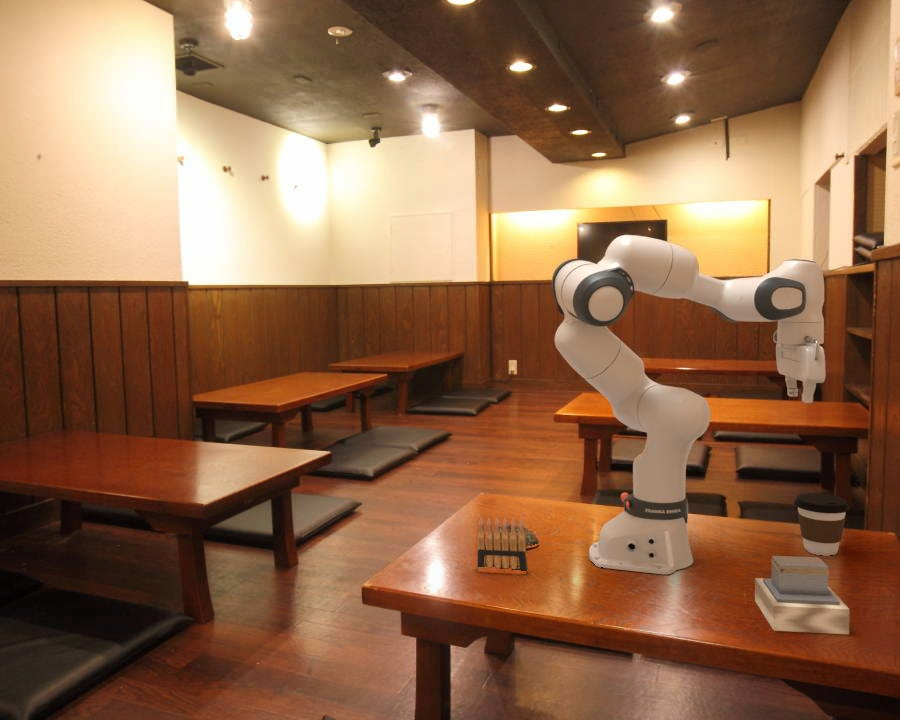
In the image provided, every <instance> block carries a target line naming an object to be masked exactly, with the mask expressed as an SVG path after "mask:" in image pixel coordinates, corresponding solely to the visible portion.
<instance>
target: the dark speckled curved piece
mask: <svg viewBox="0 0 900 720" xmlns="http://www.w3.org/2000/svg"><path fill="white" fill-rule="evenodd" d="M507 525H508V535H509V548H510V535H511V523H507ZM502 527H503V524H502V525H500V535H501V548H502ZM524 528H525V537H526V547H527V546H532V545H535V544H538V543H539V544H540V542H539V539H538V537H537V536H536V534H534V533H533V531H531V530H530V529H528V528H526V527H524ZM516 532H517V539H518V537H519V525H518V524H516ZM492 535H493V546H494V530H492ZM485 538H486V536H485Z"/></svg>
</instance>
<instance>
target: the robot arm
mask: <svg viewBox="0 0 900 720" xmlns="http://www.w3.org/2000/svg"><path fill="white" fill-rule="evenodd" d="M551 277H552V278H551V288H552V293H553V297H554V299H555V303H556V306H557V310H558V312H559V314H561V315H563V316H564V319H563V321H562V322H561V323H560V324H559V326H558V327H557V330H556V332H555V334H554V345H555V348H556V349H557V351H558V352H559V353H560V355H561V356H562V358H563V359H564V361H566V363H568V365H569V366H570V367H571V368H572V369H573V370H574V371H575V372H576V373H577V374H578V375H580V377H582V378H583V379H584V380H585V381H586V382H587V383H588V384H590V385H591V386H592V387H593V388H594V389H595V390H597V392H598V393H600V394H601V395H602V396H603V397H604V398H605V399H606V400H607V402H608V403H609V404H610V405H611V411H612V414H613V416H614V417H615V418H616V420H618V421H619V422H621V423H622V424H623V425H625V426H626V427H629V428H630V429H632V430H636V431H639V432H644V433H646V441H645V442H646V443H645V446H644V448H643V451H642V453H640V454H638V455H637V456H635V458H634V460H633V464H632V484H633V486H632V493H631V494H629V492H622V493H621V494H620V499H621V502H622V503H623V511H621V512H620V513H619V514H618V515H616V516H614V517H613V518H612V519H610V520H608V521H607V522H605V523H604V524H603V526H602V528H601V530H600V531H599V532H600V534H599V537H598V541H596V542H594V543H592V544H591V545H590V547H589V550H588V558H589V560H590V562H591V561H592V562H593V563H594V564H595V565H594V564H593V563H592V562H591V563H592V564H593V565H594V566H596V567H598V568H601V567H603V568H602V569H613V570H620V571H629V572H630V571H631V572H639V573H648V574H655V575H656V574H657V575H666V576H667V575H670V574H672V573H674V572H676V571H678V570H681V569H685V568H688V567H690V566H691V565H692V564H693V563H694V557H693V553H692V551H691V547H690V541H689V535H688V529H687V528H688V526H687V525H688V524H687V523H688V519H689V502H688V497H687V496H686V477H687V476H686V475H687V473H686V472H687V471H686V470H687V464H688V463H687V462H688V458H689V454H690V451H691V449H692V447H693V444H694V443H695V441H696V440H697V439H699V438H700V437H701V436H702V435H704V434H705V432H706V431H707V430H708V428H709V426H710V422H711V417H712V416H711V413H712V412H711V408H710V405H709V403H708V401H707V400H706V398H704V396H701V395H700V394H698V393H695V392H694V391H692V390H689V389H687V388H684V387H677V386H671V385H664V384H661V383H658V382H655V381H653V380H652V379H650V378H649V377H648V376H647V374H646V373H645V364H644V361H643V359H642V358H641V357H640V356H639V355H637V353H635V352H634V351H633V350H632V349H631V348H630V347H628V346H627V344H626V343H624V341H622V340H621V339H620V338H619V337H618V336H617V335H616V334H614V333H613V332H612V331H611V330H610V329H609V328H608V326H611V325H613V324H615V323H616V322H618V321H619V320H620V319H621V318H622V316H623V315H624V314H625V312H626V311H627V308H628V306H629V303H630V301H631V300H632V298H633V297H634V295H635V291H637V292H640V293H644V294H647V295H651V296H653V297H654V296H655V297H658V298H666V299H674V300H675V299H679V300H681V299H684V300H686V301H687V300H688V301H691V302H693V303H697V304H699V305H703V306H706V307H708V308H709V309H711V310H712V311H713V312H714V313H716V314H717V315H718V316H719V317H720V318H721V319H723V320H725V321H726V322H728V323H729V322H730V323H744V322H752V323H753V322H754V323H755V322H758V323H760V322H763V323H766V322H768V323H769V322H771V323H772V322H777V329H776V330H775V332H774V333H773V342H774V343H776V345H775V356H776V357H775V358H776V368H777V372H778V373H779V375H783V376H784V377H785V378H784V379H785V384H786V388H787V390H786V391H787V396H789V397H791V398H794V397H795V398H796V397H798V396H799V388H798V385H797V383H798V382H797V381H801V382H802V387H803V389H802V393H801V402H803V403H805V404H812V403H814V394H815V391H816V388H817V384H823V383H824V382H825V380H826V375H827V374H826V356H825V350H824V347H823V346H821V344H824V343H825V341H824V340H825V339H824V337H825V331H824V330H825V325H824V324H825V319H824V315H823V306H824V303H825V280H824V273H823V270H822V267H821V265H820V264H819V263H817V262H816V261H814V260H813V261H812V260H811V259H810V260H809V259H799V258H798V259H797V258H793V259H787V260H784V261H782V262H781V264H780V265H779V266H777V268H775V269H774V270H772V271H769V272H768V273H765V274H764V275H762V276H753V277H752V276H751V277H730V278H724V279H718V278H715V277H712V276H710V275H706V274H703V273H701V272H700V265H699V261H698V258H697V256H696V254H695V253H694V252H693V251H691V250H689V249H687V248H685V247H683V246H681V245H678V244H675V243H673V242H670V241H666V240H663V239H658V238H653V237H650V236H649V237H648V236H644V235H642V236H641V235H635V234H633V235H632V234H623V235H619V236H617V237H616V238H614V239H613V240H612V241H611V243H610V244H609V245H608V247H607V248H606V250H605V253H604V256H603V257H602V258H601V259H600V261H598V262H597V263H594V262H592V261H591V260H588V259H585V258H578V257H577V258H571V259H568V260H565V261H564V262H562V263H560V265H558V266H557V267H556V269H554V272H553V274H552V276H551Z"/></svg>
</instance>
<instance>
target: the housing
mask: <svg viewBox="0 0 900 720" xmlns="http://www.w3.org/2000/svg"><path fill="white" fill-rule="evenodd" d="M770 561H771V579H772V585H773V586H774V587H775V589H776V590H777V592H778V593H779V594H797V595H822V596H828V586H829V573H830V572H829V571H830V570H829V566H828V565H827V564H826V563H825V562H824V561H823V559H822V558H820V556H819V557H818V556H785V555H784V556H783V555H771V560H770Z"/></svg>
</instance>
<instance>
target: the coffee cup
mask: <svg viewBox="0 0 900 720" xmlns="http://www.w3.org/2000/svg"><path fill="white" fill-rule="evenodd" d="M794 506H795V507H797V516H798V522H799V529H800V534H801V537H802V541H803V543H802V544H803V547H804V549H805V551H806V550H807V551H808V552H807V551H806V552H807V553H809V552H810V553H809V554H811V553H812V555H814V554H816V555H815V556H819V555H823V556H822V557H831V556H830V555H834V556H835V555H837V553H838V552H839V548H840V547H839V546H840V543H841V542H842V537H843V532H844V527H845V524H846V523H845V522H846V513H847V512H849V511H850V505H849V503H848V501H847V500H846V499H844V498H843V497H840V496H837V495H832V494H826V493H818V492H817V493H816V492H813V493H812V492H808V493H807V492H806V493H802V494H798V495H797V496H796V498H795V499H794Z"/></svg>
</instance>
